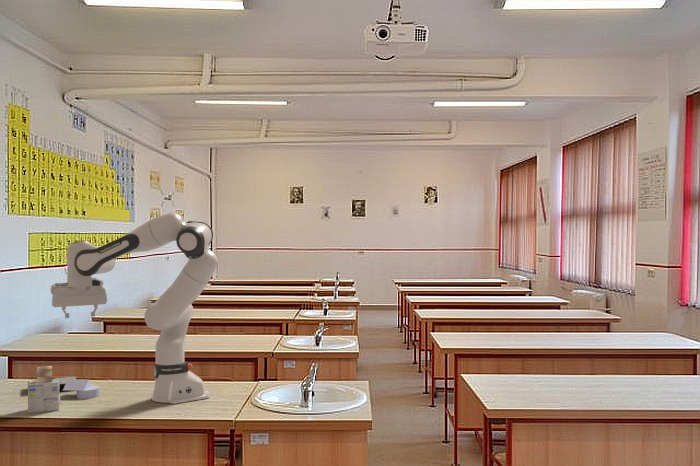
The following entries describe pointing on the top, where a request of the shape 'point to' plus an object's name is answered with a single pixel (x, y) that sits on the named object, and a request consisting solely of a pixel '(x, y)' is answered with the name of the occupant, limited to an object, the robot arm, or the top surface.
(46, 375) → the ash cube
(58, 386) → the light bulb box
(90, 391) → the wedge on round base
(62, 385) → the multimeter
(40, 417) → the top surface
